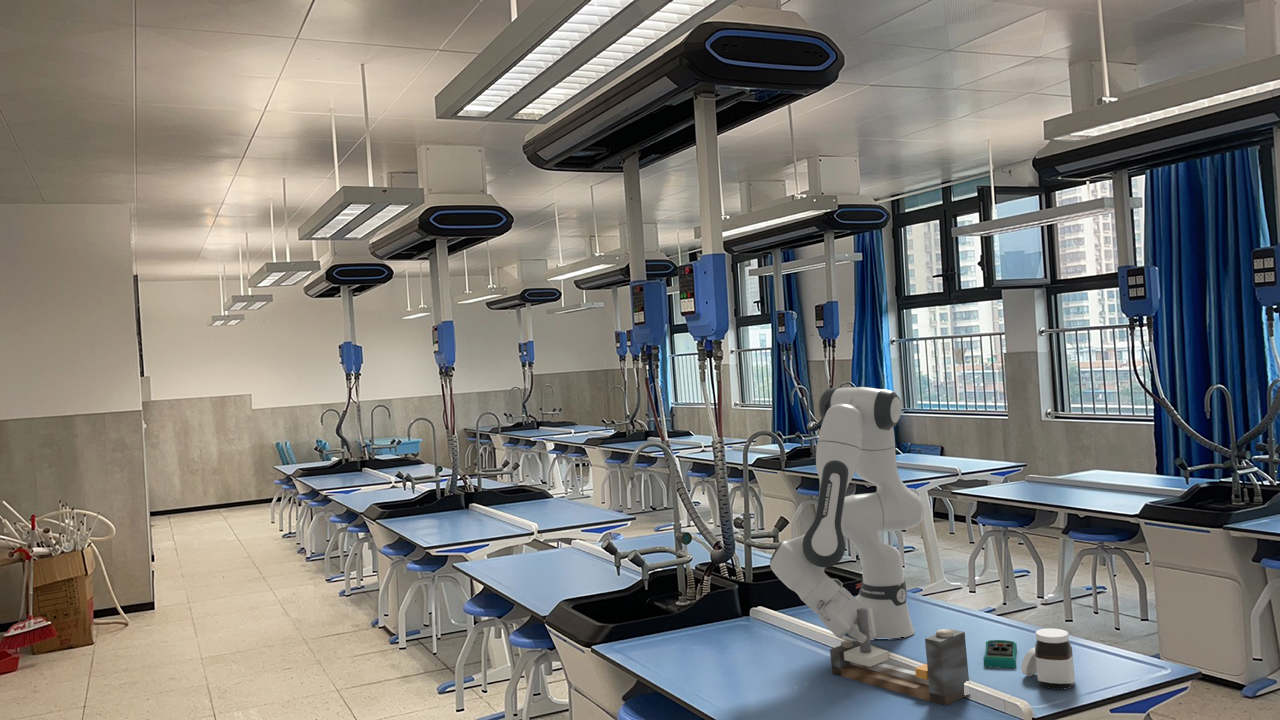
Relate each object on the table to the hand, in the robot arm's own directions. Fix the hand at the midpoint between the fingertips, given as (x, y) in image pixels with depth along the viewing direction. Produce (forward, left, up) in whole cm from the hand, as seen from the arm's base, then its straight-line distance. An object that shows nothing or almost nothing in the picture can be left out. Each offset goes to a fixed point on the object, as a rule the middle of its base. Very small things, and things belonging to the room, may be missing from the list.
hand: (867, 636), depth 227 cm
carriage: (-1, 0, -6) cm, 6 cm away
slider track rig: (+8, 0, -9) cm, 13 cm away
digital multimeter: (+17, +29, -10) cm, 35 cm away
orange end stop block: (+17, 0, -6) cm, 18 cm away
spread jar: (+33, +22, -10) cm, 41 cm away
